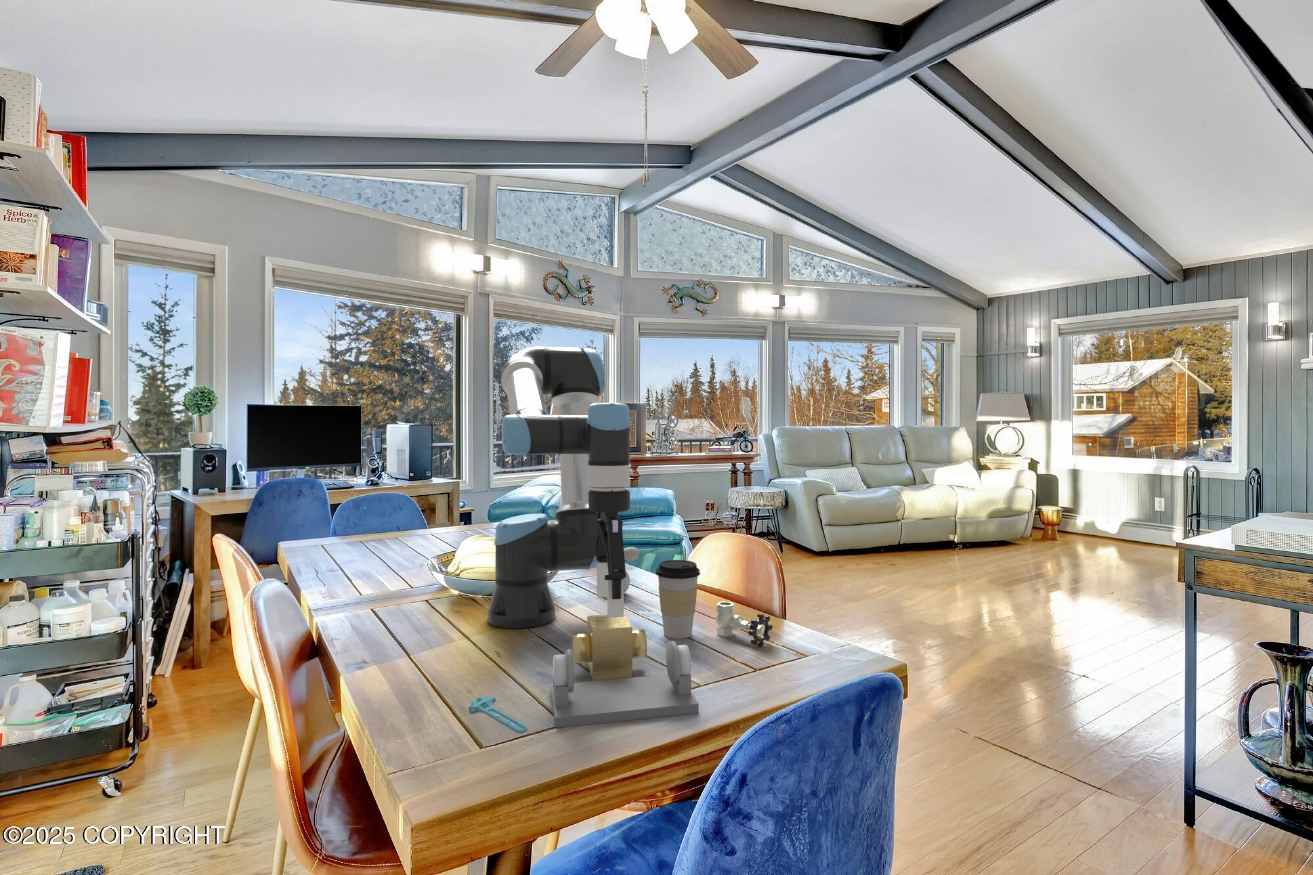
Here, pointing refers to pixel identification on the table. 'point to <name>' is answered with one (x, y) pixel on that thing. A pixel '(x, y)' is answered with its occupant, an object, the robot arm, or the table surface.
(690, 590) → the coffee cup
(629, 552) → the perfume bottle
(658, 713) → the pipe run plate
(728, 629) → the valve
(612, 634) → the brass gate valve
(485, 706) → the adjustable wrench
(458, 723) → the table surface
